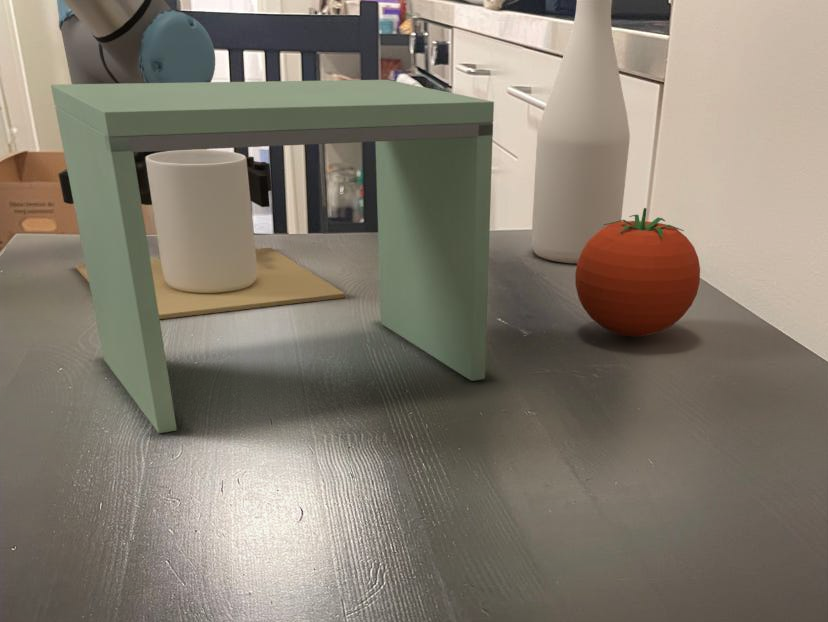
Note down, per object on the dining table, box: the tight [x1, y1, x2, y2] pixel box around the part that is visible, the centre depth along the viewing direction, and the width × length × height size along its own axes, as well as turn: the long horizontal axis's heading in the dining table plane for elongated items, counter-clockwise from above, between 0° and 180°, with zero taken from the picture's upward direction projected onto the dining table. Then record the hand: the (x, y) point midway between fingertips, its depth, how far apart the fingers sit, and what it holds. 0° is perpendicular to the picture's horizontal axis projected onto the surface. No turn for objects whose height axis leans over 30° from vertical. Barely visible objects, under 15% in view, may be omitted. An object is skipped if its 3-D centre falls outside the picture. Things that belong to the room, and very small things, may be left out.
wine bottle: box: [530, 0, 631, 264], centre depth 98 cm, size 10×10×30 cm
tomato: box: [574, 207, 701, 337], centre depth 80 cm, size 10×10×10 cm
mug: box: [145, 149, 257, 293], centre depth 89 cm, size 9×12×11 cm
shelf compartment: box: [50, 79, 495, 434], centre depth 67 cm, size 24×16×18 cm, turn 120°
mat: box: [75, 247, 346, 320], centre depth 92 cm, size 20×20×1 cm
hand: (193, 196), depth 88 cm, fingers open, 13 cm apart
